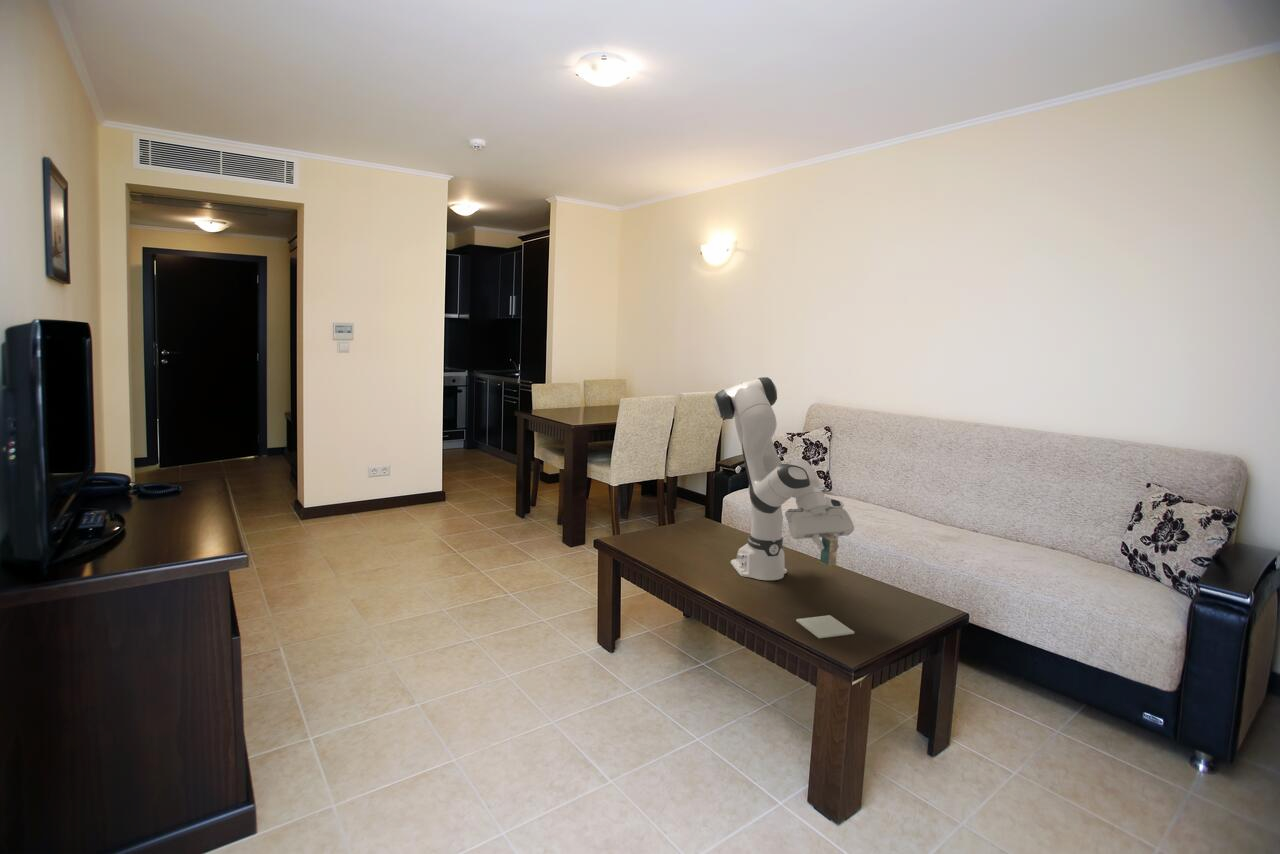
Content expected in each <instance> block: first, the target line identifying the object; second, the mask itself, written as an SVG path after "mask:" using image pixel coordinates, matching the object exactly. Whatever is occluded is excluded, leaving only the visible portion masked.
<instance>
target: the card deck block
mask: <svg viewBox="0 0 1280 854" xmlns="http://www.w3.org/2000/svg"><path fill="white" fill-rule="evenodd" d="M821 541H822V542H823V543H825V544H826V546H827V549H825V550H822V551H820V559H819V560H820V562H822V563H823V564H825V565H827V566H836V565H837V558H838V557H837V555H838V554H837V553H838V549H837V546H838V545H839V539H838V540H837V539H835V538H833V537H831V536H823V537H821Z"/></svg>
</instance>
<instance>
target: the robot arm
mask: <svg viewBox="0 0 1280 854" xmlns="http://www.w3.org/2000/svg"><path fill="white" fill-rule="evenodd" d="M713 398H714V400H713V405H714V410H715V412H716V413H717V415H718V416H719V417H720V419H723V420H733V418H734V424H735V429H736V433H737V437H738V441H739V443H740V446H741V447H740V448H741V451H742V452H741V453H742V457H743V461H744V467H745V470H746V476H747V479H748V493H749V499H750V505H751V506H750V507H751V528H750V533H748V534H747V537H748V539H747V543H746V544H744V545H743V546H742V547H740V548H739V549H738V551H737V553H736V558H734V559H731V560H730V564H731V565H732V567H733V568H734V570H736V572H737V573H738V575H740V576H741V577H745V578H752V579H756V580H761V581H776V580H777V581H778V580H781V579H783V578H784V576H785V574H787V572H788V570H787V568H785V567H786V566H785V550H783V544H784V537H783V524H784V523H783V522H784V516H785V518H786V520H787V525H788V529H789V530H788V531H789V533H790V536H791V537H792V539H794V540H800V539H811V540H812V542H814V544H815V545H816V546H817V547H818V549H819V550H820V552H821V551H822V550H825V549H827V546H826V544H825V543H823V542H822V539H820V538H822V537H823V536H831V537H833V538H835V539H837V540H838V541H839V537H847V536H850V535H851V534H852V533H853V532H854V530H855V526H854V522H853V520H852V518H851V517H850V515H849V513H848V512H847V510H846V509H844V506H845V505H844V503H843V501H842V500H839V499H835V498H832V497H828V496H826V495H825V493H824V492H823V491H822V489H821V484H820V481H819V478H818V476H817V474H816V472H815V470H814V469H813V467H812V465H811V464H810V463H809V461H807V460H805V459H803V458H797V459H793V460H790V461H789V462H788V463H783V462H782V461H781V458H780V457H779V455H778V452H777V451H776V448H775V445H774V441H773V439H772V437H773V436H774V434H775V432H776V430H777V418H776V417H777V416H776V414H775V411H774V409H773V407H772V406H773V405H775V403H776V401H777V399H778V389H777V386H776V384H775V383H774V381H773V380H772V379H771V378H770V377H768V376H767V377H766V376H765V377H763V376H762V377H758V379H755V378H754V379H751V380H747V381H743V382H740V383H738V384H736V385H733V386H731V387H728V388H726V389H722V390H720V391H718V392H716V393H715V395H714V397H713ZM791 498H794V499H795V503H796V506H797V508H789V509H787V510H785V515H783V510H782V505H783V504H785V503H786V502H788V501H789V500H790V499H791ZM838 549H840V546H839V544H838V546H837V550H838Z"/></svg>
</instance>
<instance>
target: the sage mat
mask: <svg viewBox="0 0 1280 854" xmlns="http://www.w3.org/2000/svg"><path fill="white" fill-rule="evenodd" d="M795 621H796V622H797V623H798V624H799V625H801V626H802V627H803V628H804V629H806V630H807V631H809V633H811V634H812V635H814V636H815V637H816V638H818V639H825V638H833V637H840V636H848V635H854V634H855V631H854V630H853V629H850V628H849V627H848V626H846V625H845V624H844V623H842V622H841V621H839V620H838V619H836V618H835V617H833V615H830V614H828V615H820V616H819V615H818V616H813V617H805V618H797V619H795Z"/></svg>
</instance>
